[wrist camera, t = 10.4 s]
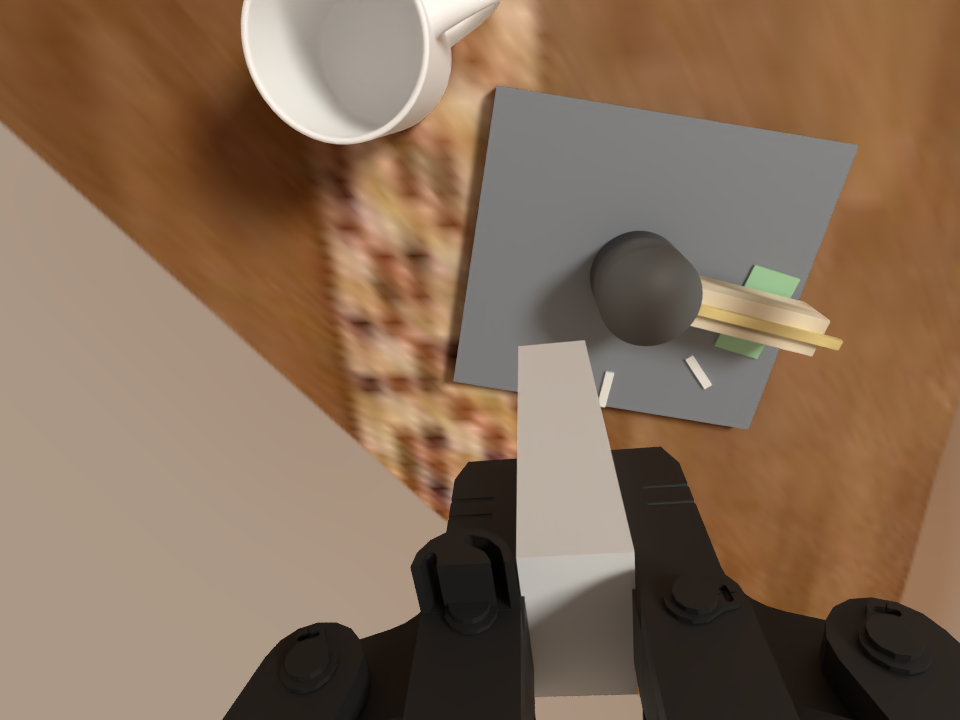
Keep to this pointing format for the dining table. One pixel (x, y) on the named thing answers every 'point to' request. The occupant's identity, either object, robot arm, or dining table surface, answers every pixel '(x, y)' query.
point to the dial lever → (692, 300)
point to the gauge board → (638, 207)
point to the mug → (354, 61)
